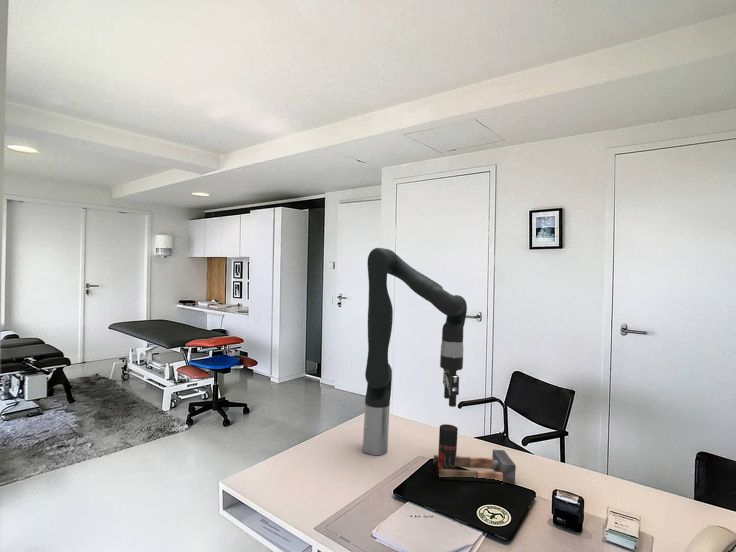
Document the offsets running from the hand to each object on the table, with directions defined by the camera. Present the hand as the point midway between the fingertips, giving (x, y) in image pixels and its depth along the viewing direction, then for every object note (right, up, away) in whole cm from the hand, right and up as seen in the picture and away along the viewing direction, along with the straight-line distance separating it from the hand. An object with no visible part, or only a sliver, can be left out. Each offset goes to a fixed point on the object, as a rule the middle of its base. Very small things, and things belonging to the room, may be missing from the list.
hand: (449, 402), depth 134 cm
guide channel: (+7, -24, 0) cm, 25 cm away
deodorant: (-1, -24, 0) cm, 24 cm away
